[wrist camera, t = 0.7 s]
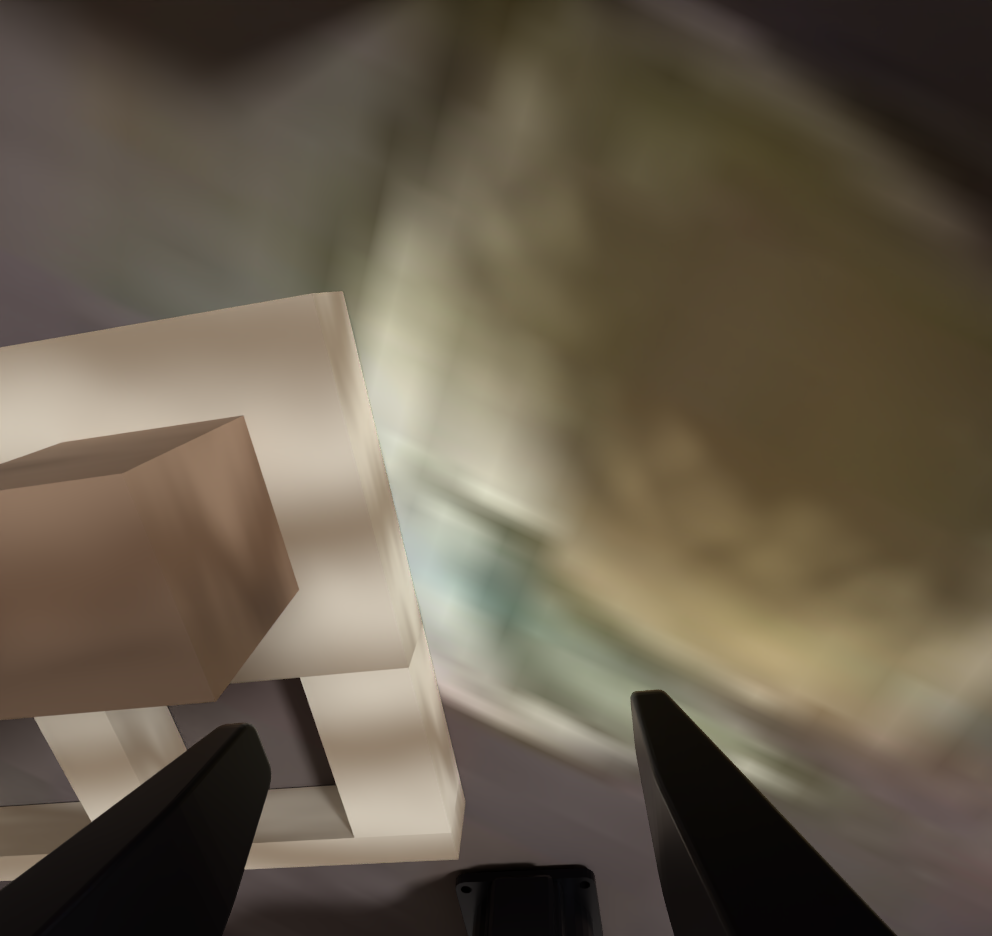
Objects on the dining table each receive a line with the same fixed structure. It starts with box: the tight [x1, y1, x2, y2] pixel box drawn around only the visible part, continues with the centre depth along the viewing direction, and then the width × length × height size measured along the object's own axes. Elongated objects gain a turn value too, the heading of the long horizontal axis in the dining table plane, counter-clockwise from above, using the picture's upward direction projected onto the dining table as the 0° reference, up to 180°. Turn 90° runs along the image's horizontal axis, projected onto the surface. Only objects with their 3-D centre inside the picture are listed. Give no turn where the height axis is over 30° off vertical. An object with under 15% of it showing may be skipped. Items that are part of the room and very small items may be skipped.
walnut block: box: [0, 415, 299, 720], centre depth 15 cm, size 6×6×5 cm
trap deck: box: [0, 291, 465, 881], centre depth 20 cm, size 22×28×4 cm
